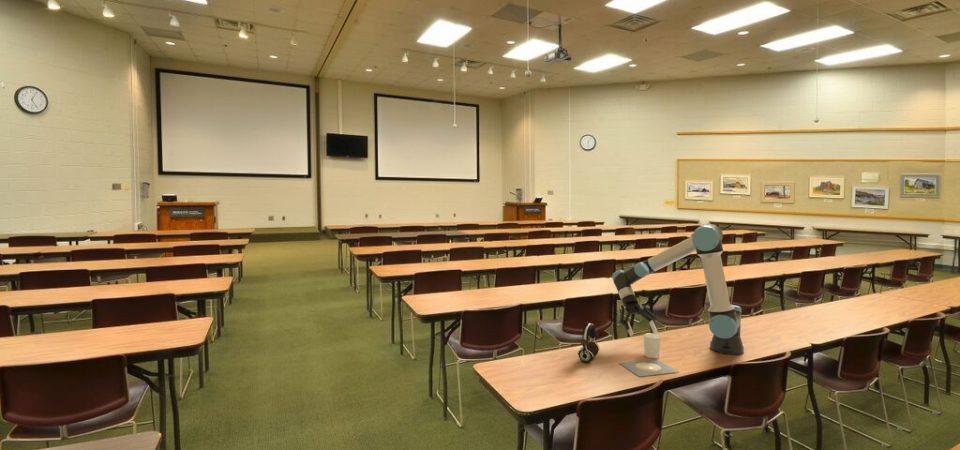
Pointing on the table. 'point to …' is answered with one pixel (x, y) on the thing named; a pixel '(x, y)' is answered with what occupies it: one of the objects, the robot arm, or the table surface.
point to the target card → (648, 367)
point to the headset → (588, 343)
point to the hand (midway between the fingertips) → (644, 334)
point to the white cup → (652, 345)
